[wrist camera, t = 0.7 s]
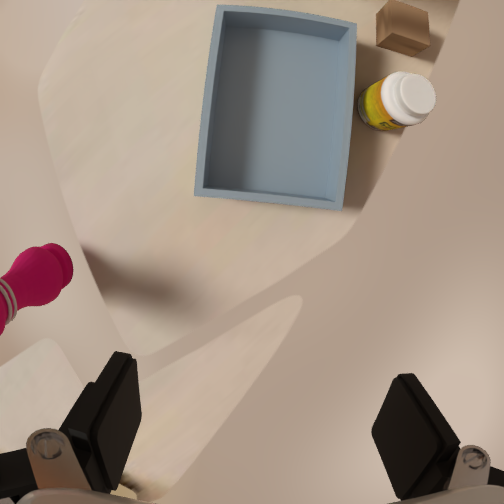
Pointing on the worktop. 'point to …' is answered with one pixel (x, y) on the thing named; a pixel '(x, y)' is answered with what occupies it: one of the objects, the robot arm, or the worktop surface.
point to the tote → (277, 108)
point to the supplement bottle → (397, 101)
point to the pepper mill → (34, 280)
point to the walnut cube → (402, 28)
